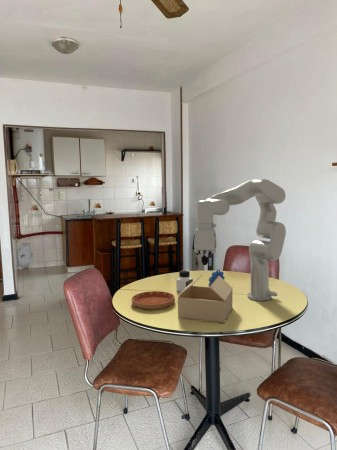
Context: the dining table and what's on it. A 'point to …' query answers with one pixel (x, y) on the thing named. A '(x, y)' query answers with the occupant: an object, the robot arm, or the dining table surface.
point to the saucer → (153, 300)
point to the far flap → (189, 285)
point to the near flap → (221, 288)
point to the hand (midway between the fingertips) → (204, 264)
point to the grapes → (215, 276)
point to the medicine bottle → (183, 280)
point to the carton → (204, 305)
